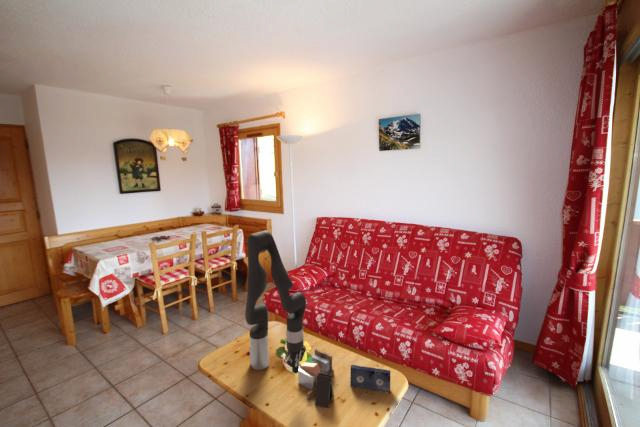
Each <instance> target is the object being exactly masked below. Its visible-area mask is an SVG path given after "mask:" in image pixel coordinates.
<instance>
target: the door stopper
mask: <svg viewBox="0 0 640 427" xmlns="http://www.w3.org/2000/svg"><path fill="white" fill-rule="evenodd" d="M333 395H334V388H333V382H332V377H331V375H326V374H321V373H318V375H317V386H316V393H315V400H314V405H315V406H319V407H322V408H329V407H330V404H331V401H332V399H333Z"/></svg>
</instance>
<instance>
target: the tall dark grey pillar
mask: <svg viewBox="0 0 640 427" xmlns="http://www.w3.org/2000/svg"><path fill="white" fill-rule="evenodd" d="M312 361H313V362H314V363H317V364H318V365H319V368H320V372H321V374H326V375H331V378H332V377H333V376H334V375H335V370H334V369H333V355H332V354H330V353H327V352H325V351H322V350H321V349H318V348H315V349H314V354H313V355H312V356H311V362H312ZM316 386H317V384H316V385H315V386H314V387H313V388H312V389H311V390H310V389H309V391H308V392H307V395H306V396H307V399H308V400H310V399H311V398H312V397H313V396H314V395H316Z"/></svg>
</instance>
